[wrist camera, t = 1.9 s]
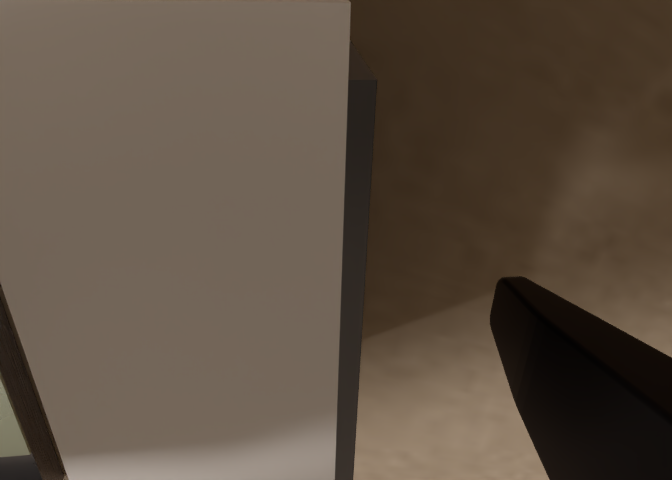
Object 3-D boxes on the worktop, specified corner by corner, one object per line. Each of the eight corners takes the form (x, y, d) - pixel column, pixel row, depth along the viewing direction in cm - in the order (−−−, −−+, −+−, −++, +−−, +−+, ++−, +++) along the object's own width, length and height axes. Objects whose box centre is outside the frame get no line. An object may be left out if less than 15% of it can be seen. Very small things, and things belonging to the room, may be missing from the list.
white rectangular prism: (161, 366, 15) (110, 600, 10) (85, -47, 10) (-98, -1, 5) (326, 355, 16) (358, 573, 10) (332, -43, 11) (401, 3, 5)
